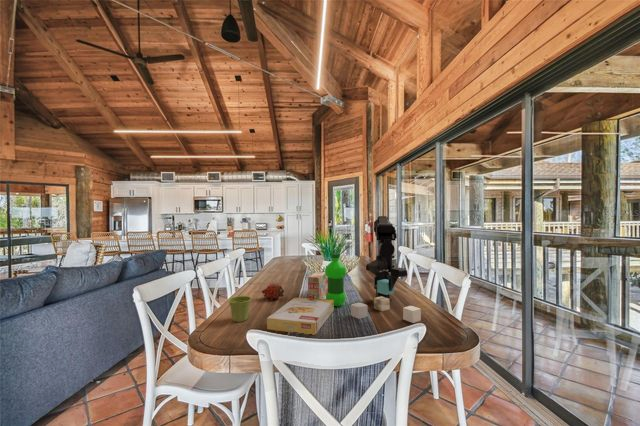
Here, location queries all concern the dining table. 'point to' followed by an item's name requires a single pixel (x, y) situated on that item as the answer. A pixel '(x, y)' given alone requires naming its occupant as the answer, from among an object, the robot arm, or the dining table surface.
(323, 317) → the cereal box
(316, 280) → the printed food carton
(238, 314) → the plant pot
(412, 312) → the cream cube
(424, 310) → the dining table surface
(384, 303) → the light ash cube
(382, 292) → the teal cube
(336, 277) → the plastic bottle
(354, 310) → the pale grey cube
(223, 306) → the dining table surface
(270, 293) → the dragon fruit
